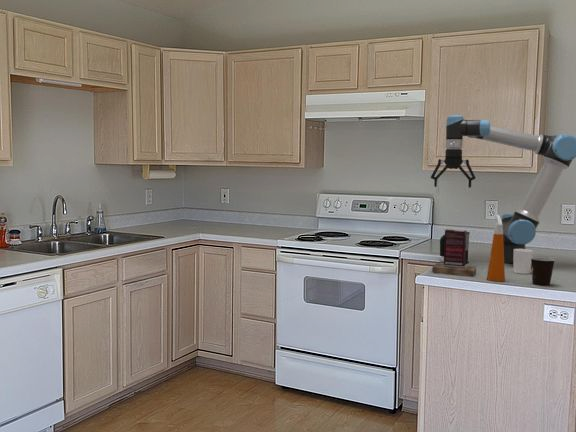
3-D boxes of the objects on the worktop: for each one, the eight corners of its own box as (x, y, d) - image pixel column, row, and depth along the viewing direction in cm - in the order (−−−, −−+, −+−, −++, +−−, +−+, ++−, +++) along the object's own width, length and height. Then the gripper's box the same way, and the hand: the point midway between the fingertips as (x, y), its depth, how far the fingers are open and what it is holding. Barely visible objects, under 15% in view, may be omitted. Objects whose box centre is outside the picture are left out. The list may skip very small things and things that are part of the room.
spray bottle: (501, 277, 251) (505, 214, 249) (506, 282, 240) (510, 216, 238) (483, 276, 252) (487, 213, 250) (488, 281, 242) (491, 216, 239)
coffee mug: (548, 287, 233) (550, 261, 232) (526, 283, 238) (527, 258, 237) (558, 283, 241) (560, 258, 240) (536, 279, 247) (538, 255, 246)
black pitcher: (461, 260, 292) (462, 230, 291) (481, 266, 277) (483, 234, 276) (435, 261, 288) (437, 230, 286) (454, 267, 273) (456, 234, 271)
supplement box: (465, 266, 259) (467, 230, 258) (463, 268, 255) (465, 231, 253) (445, 264, 263) (446, 228, 261) (442, 266, 259) (444, 229, 257)
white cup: (535, 274, 260) (536, 251, 259) (519, 274, 258) (521, 251, 257) (523, 270, 268) (524, 248, 267) (508, 271, 266) (509, 248, 265)
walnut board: (475, 272, 261) (476, 266, 261) (473, 276, 250) (473, 270, 250) (436, 268, 268) (436, 262, 268) (432, 272, 257) (432, 267, 256)
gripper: (425, 148, 281) (424, 194, 283) (481, 148, 273) (480, 195, 275) (427, 149, 288) (426, 193, 290) (482, 149, 280) (480, 194, 282)
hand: (452, 194), depth 282 cm, fingers open, 13 cm apart
